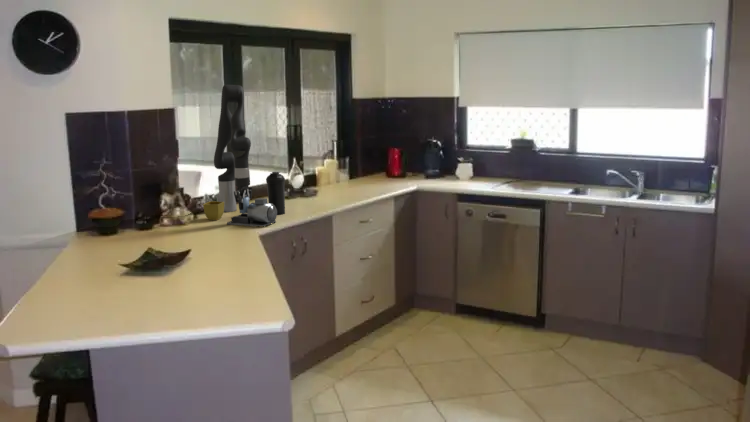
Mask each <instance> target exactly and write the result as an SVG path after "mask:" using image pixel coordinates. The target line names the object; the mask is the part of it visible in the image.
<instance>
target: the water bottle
mask: <svg viewBox="0 0 750 422" xmlns="http://www.w3.org/2000/svg"><path fill="white" fill-rule="evenodd" d="M265 182H266V185H267V188H266V189H267V190H266V191H267V203H270V204H274V206H275V207H276V209H277V216H282V215H285V214H286V208H285V207H286V206H285V205H286V199H285V197H286V196H285V195H286V194H285V191H286V189H285V183H286V179H285V176H284V175H282V174H281V171H272V172H271V173H269V175H267V177H266V178H265Z"/></svg>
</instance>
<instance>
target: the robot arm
mask: <svg viewBox="0 0 750 422" xmlns="http://www.w3.org/2000/svg"><path fill="white" fill-rule="evenodd" d="M220 103H221V105H220V115H219V121H218V129H217V130H218V132H217V141H216V146H215V150H214V151H215V152H214V155H213V156H214V157H213V165H214V168H215V169H216V170H225V169H226V170H225V171H224V172H223V173H221V174H219V175H218V177H217V183H218V194H217V201H218V202H224V212H223V213H226V212H228V213H229V212H236V211H237V210H239V211H240V210H243V199H244V197H245V195H247V197H249V201H250V200H252V196H253V187H252V186H251V177H250V175H251V173H250V167H249V156H250V149H251V148H252V147H251V146H252V142H251V139H250V138H249V137H244V136H245V135H246V127H245V126H246V125H245V91H244V87H243V86H242V85H239V84H224V85H223V86H222V89H221V99H220ZM229 103H234V104H235V103H237V108H236V109H235V111H234V113H233V114H232V113H231V111H230V109H229ZM228 145H229V149H230V150H231V151H226V152H225V149H226V148H227V146H228ZM233 152H234V153H235V152H236V153H237V152H243V153H242V154H241V155H237V156H235V155H234V153H233ZM249 186H251V187H249ZM236 187H237V189H236ZM241 196H242V197H241ZM240 198H241V199H240ZM237 204H238V207H237ZM237 208H238V209H237Z"/></svg>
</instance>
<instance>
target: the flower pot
mask: <svg viewBox="0 0 750 422" xmlns="http://www.w3.org/2000/svg"><path fill="white" fill-rule="evenodd" d="M202 206H203V211H204V215H205V216H206V219H207V220H209V221H218V220H220V219H221V218H222V217H223V215H224V213H225V212H224V202H218V200H217V201H213V200H212V201H207V202H206V203H203V204H202Z"/></svg>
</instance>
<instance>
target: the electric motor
mask: <svg viewBox="0 0 750 422" xmlns="http://www.w3.org/2000/svg"><path fill="white" fill-rule="evenodd" d="M277 216H278V215H277V209H276V207H275V206H274V204H270V203H269V202H268V197H267V198H265V197H263V198H262V197H258V198H255V199H254V202H251V203H249V207H248V210H247V213H240V214H238V215H234V216H232V217H231V220H230V221H227V222H226V224H227V225H232V226H242V225H244V226H243V227H255V226H265V227H267V226H266V225H268V226H270V225H272V224H271V223H273V224H275V223H276V222H277V221H276V219H277ZM274 222H275V223H274ZM269 224H270V225H269Z"/></svg>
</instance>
